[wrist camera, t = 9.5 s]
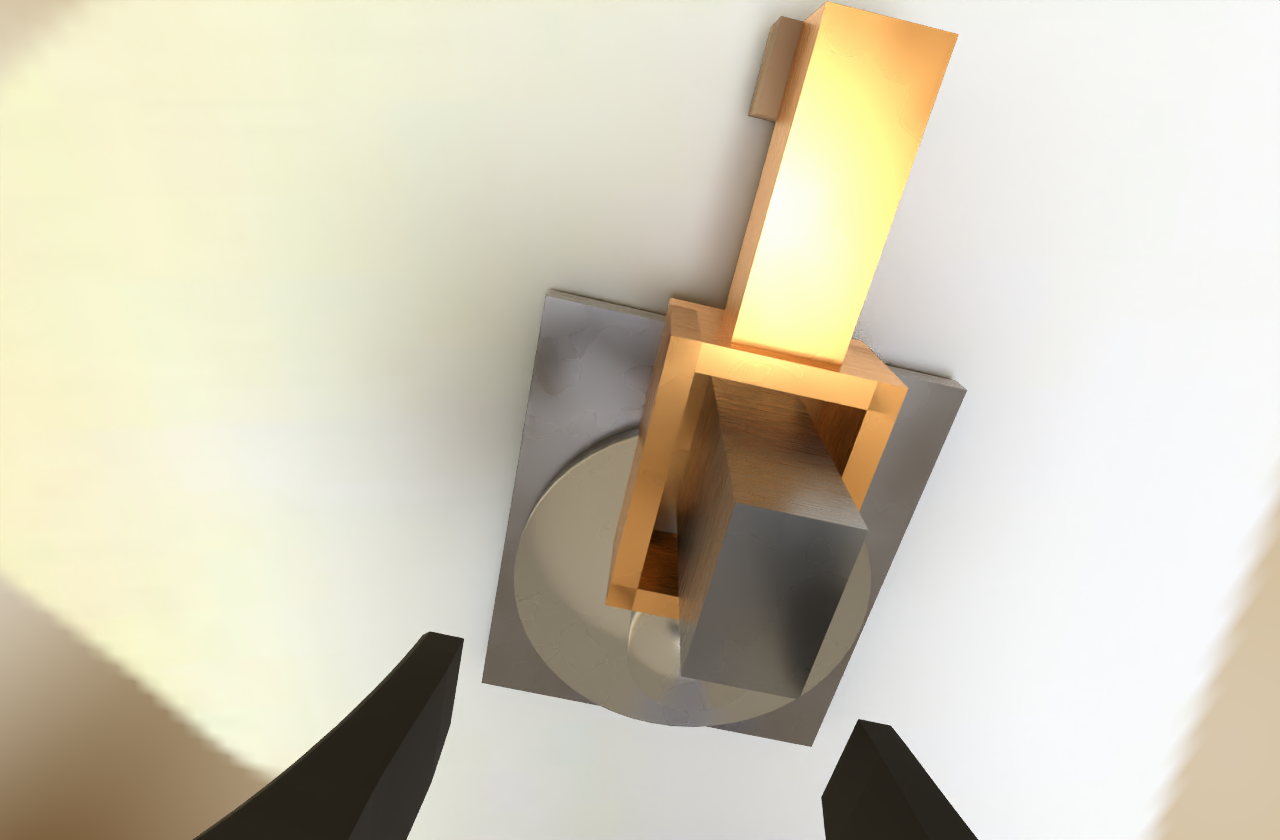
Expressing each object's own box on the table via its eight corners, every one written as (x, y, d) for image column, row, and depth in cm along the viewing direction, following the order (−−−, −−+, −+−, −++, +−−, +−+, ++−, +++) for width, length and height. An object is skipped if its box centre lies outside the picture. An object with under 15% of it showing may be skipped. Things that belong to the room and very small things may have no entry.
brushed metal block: (755, 516, 20) (798, 699, 13) (676, 499, 20) (680, 676, 13) (797, 391, 18) (868, 530, 12) (711, 372, 18) (735, 502, 12)
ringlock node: (807, 728, 25) (835, 849, 21) (487, 666, 24) (449, 777, 20) (1074, 102, 17) (1212, 90, 13) (601, -15, 16) (578, -70, 12)
